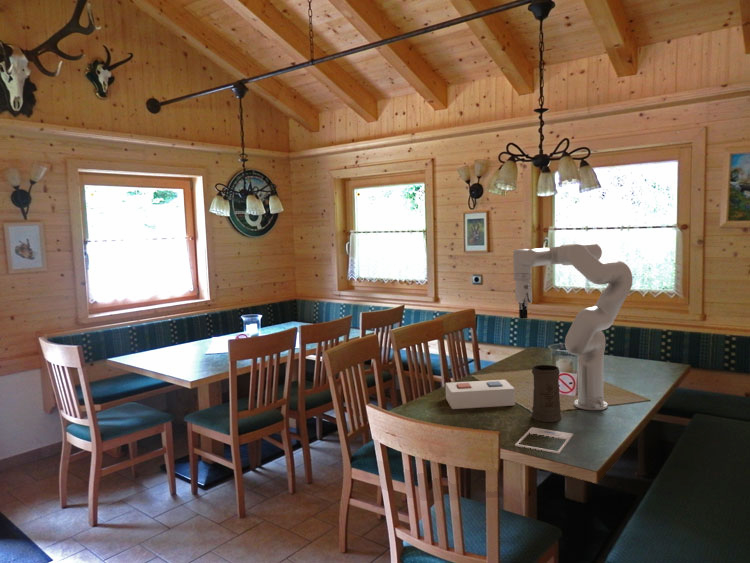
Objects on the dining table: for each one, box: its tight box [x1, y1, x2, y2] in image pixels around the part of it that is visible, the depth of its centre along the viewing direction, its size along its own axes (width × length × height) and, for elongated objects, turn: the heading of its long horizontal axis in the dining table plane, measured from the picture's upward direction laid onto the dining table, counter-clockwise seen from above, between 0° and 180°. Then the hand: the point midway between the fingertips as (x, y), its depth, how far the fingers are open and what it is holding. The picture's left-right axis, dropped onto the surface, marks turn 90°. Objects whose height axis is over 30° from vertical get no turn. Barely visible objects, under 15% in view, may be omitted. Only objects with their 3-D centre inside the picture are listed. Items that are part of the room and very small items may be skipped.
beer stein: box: [531, 364, 562, 423], centre depth 216 cm, size 15×11×20 cm
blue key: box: [487, 381, 502, 387], centre depth 237 cm, size 5×5×4 cm
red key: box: [457, 383, 471, 389], centre depth 236 cm, size 5×5×4 cm
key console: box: [445, 379, 516, 410], centre depth 237 cm, size 14×26×7 cm, turn 93°
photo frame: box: [514, 426, 574, 455], centre depth 193 cm, size 15×1×18 cm
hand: (523, 318), depth 250 cm, fingers closed
